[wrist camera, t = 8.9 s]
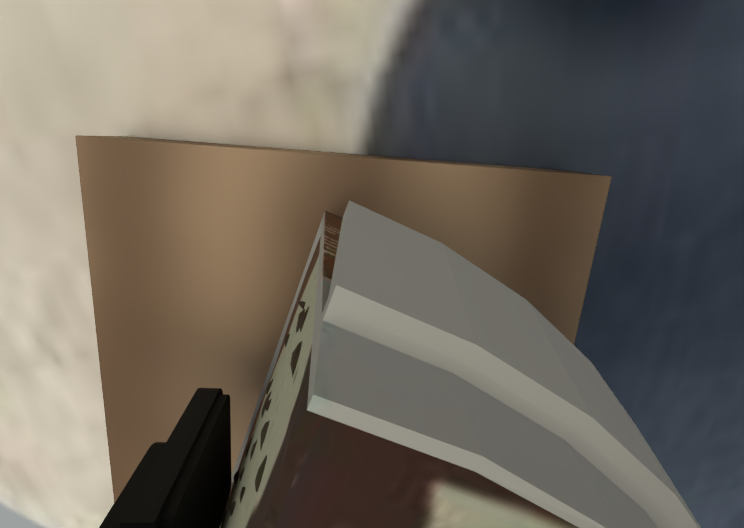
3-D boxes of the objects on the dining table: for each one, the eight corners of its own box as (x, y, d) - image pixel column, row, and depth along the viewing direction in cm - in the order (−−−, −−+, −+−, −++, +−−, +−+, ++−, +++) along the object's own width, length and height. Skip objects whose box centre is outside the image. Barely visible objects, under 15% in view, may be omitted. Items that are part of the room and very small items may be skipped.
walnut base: (564, 170, 16) (611, 176, 13) (505, 473, 20) (532, 529, 17) (126, 136, 15) (75, 135, 12) (151, 469, 19) (117, 528, 16)
